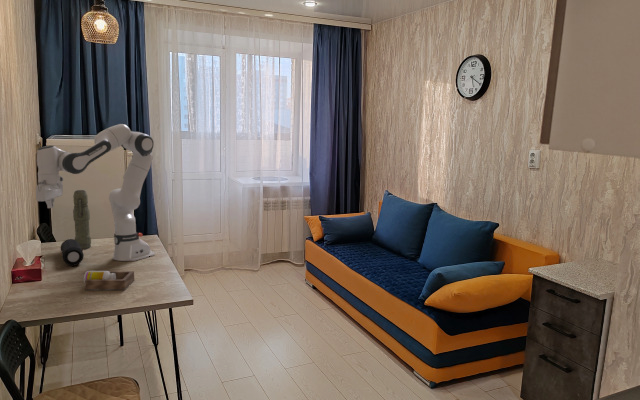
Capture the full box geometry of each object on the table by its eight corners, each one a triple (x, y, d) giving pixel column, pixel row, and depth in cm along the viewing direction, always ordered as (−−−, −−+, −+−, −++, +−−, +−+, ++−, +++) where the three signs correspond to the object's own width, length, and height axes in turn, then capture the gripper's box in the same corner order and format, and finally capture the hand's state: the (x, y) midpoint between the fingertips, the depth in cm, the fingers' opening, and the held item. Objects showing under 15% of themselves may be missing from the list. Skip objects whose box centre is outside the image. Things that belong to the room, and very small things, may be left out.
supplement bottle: (83, 286, 220) (111, 287, 220) (82, 272, 219) (111, 272, 220) (89, 282, 226) (117, 283, 227) (89, 269, 226) (116, 269, 226)
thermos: (90, 244, 298) (87, 189, 292) (91, 249, 287) (88, 191, 282) (74, 246, 294) (71, 189, 288) (75, 250, 283) (72, 192, 278)
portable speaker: (60, 256, 272) (59, 239, 270) (80, 254, 277) (79, 237, 275) (63, 267, 250) (62, 249, 249) (84, 265, 255) (83, 247, 254)
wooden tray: (85, 290, 217) (85, 280, 217) (97, 280, 231) (96, 271, 230) (125, 290, 219) (124, 280, 218) (134, 280, 233) (134, 271, 232)
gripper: (45, 182, 220) (47, 211, 222) (64, 177, 240) (66, 204, 242) (30, 182, 220) (33, 211, 222) (51, 177, 240) (53, 204, 242)
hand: (50, 207), depth 232 cm, fingers closed
